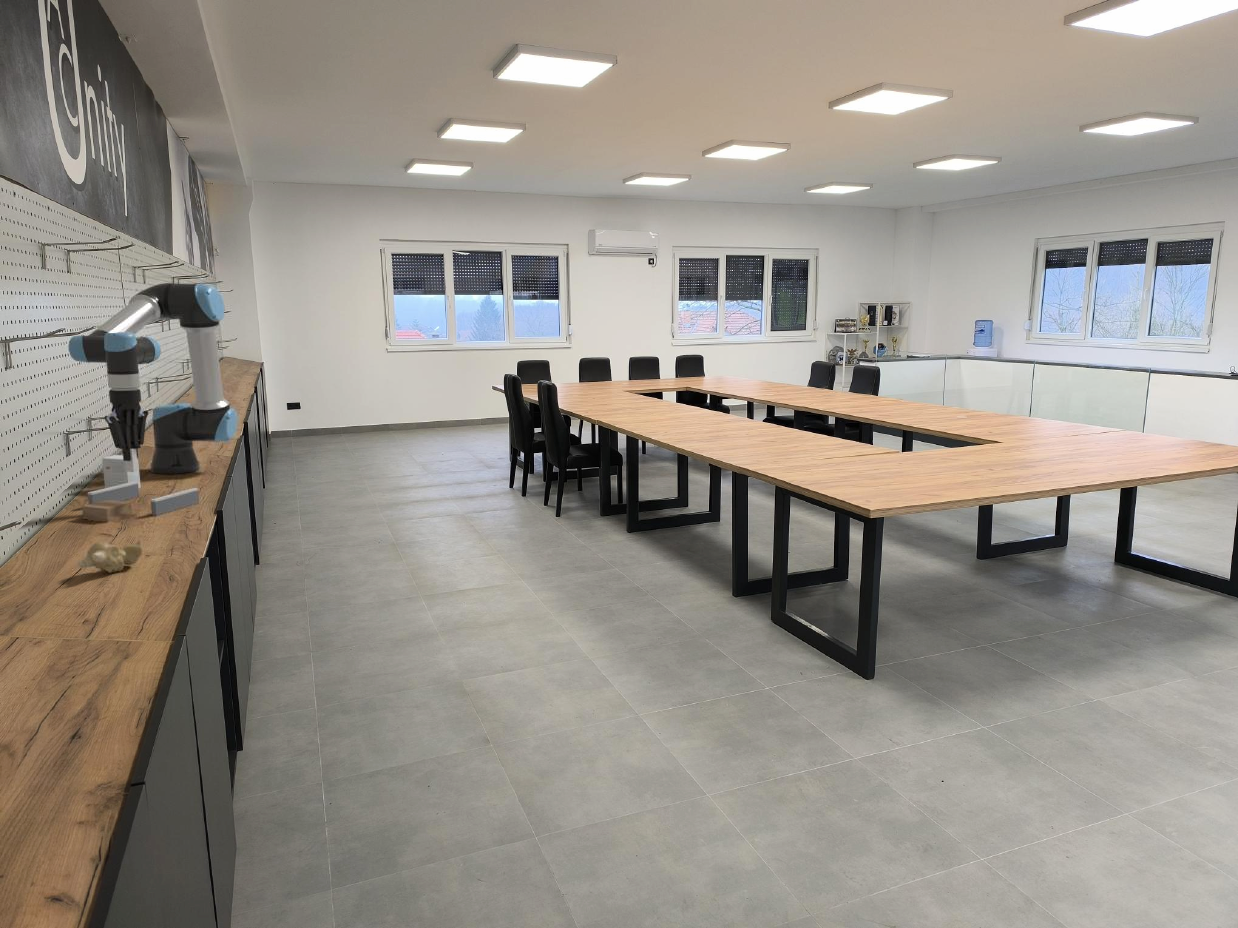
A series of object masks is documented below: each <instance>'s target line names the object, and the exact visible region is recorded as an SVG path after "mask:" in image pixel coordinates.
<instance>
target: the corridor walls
mask: <svg viewBox="0 0 1238 928" xmlns="http://www.w3.org/2000/svg"><path fill="white" fill-rule="evenodd" d="M139 491H140V489H139V488H138V482H130V483H126V484H122V485H117V486H113V487H109V488H105V487H104V488H102V489H97V490H93V491H88V492H87V499H88V500H87V501H88V505H89V504H92V503H96V502H100V501H104V500H114V501H123V502H125V501H127V500H126V499H128V500H130V499H131V498H132V499H135V498H138V497H140V492H139ZM199 497H200V496H199V488H196V487H193V488H189V489H186V490H182V491H178V492H175V493H170V494H167V495H164V496H159V497H156V498H152V499H150V509H151V516H153V517H159V516H161V515H165V514H167V513H171V512H174V511H178V510H181V509H184V508H188V507H191V506H194V505H198V504H200V498H199ZM132 499H131V500H132Z"/></svg>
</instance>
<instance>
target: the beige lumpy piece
mask: <svg viewBox="0 0 1238 928" xmlns="http://www.w3.org/2000/svg"><path fill="white" fill-rule="evenodd" d="M142 554H143V546H142V540H138V541H137V542H135V543H131V544H129V545H124V546H123V547H119V546H117V545H114V544H110V543H108V542H107V541H97V542H95V543H94V544H93V545H91V546H90V548H89V549H88V550H87V554H86V555H87V556H86V557H84V558H83V559H81V560H79V561H78V562H77V565H78V566H79V567H81V568H90V567H95V569H100V570H102V571H107V572H108V573H115V572H122V571H123V569H124V565H126V566H131V565H133V564H134V565H135V564H136V562H138V561H139V558H140V557H141V556H142Z"/></svg>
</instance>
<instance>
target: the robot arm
mask: <svg viewBox="0 0 1238 928" xmlns="http://www.w3.org/2000/svg"><path fill="white" fill-rule="evenodd" d="M224 317H225V304H224V299H223V297H222V295H221V292H220V291H219V290H218V289H217V288H216V287H215V286H214V285H213V286H212V285H210V284H202V283H176V282H175V283H172V282H163V283H159V284H156V285H152V286H149V287H147V288H144V289H142V290H141V291H140V292H138V293H136V294H135V295H134V296H132V297H131V298H130V299H129V301H128V304H127V305H126V306H125V307H124V308H122V309H121V310H120V311H118V312H117V313H115V314H114V315H113V316H111V317H110V318H109V319H108V320H107V321H105V322H104V323H103V324H101V325H100V326H99V327H98V328H96V329H95V330H93V331H92V332H91V333H90V334H87V335H84V334H81V335H74V336H72V337H71V338H70V340H69V342H68V352H69V355H70V357H71V359H73V360H74V361H75V362H79V363H81V362H82V363H87V364H90V363H97V364H99V363H103V364H106V373H107V375H106V376H107V384H108V385H107V386H108V388H110V389H109V390H108V396H109V397H108V398H109V403H111V405H112V407H111V413H110V414H109V415H104V420H105V422H106V423H107V425H108V428H109V431H110V434H111V438H112V441H113V445H114V447H115V448H116V449H119V450H122V455H123V460H124V461H125V467H126V471H127V472H137V471H138V465H137V459H138V460H139V450H138V449H141V448H142V445H144V442H145V434H146V433H145V432H146V424H147V423H146V422H147V417H148V415H149V411H148V410H144V409H142V406H141V405H140V403H141V402H142V393H141V392H142V391H141V389H140V388H141V381H140V372H139V365H144V364H145V365H148V364H152V363H154V362H156V361H157V360H158V359H159V358H160V357H161V355H162V354H161V353H162V350H161V346H160V343H158V341H157V340H155V339H154V338H152V337H149V336H139V337H137V336H136V334H137V333H139V332H140V331H141V330H142V329H144V328H145V326H147V325H148V324H154V323H156V322H158V321H159V320H170V319H171V320H178V322H179V325H180V328H182V329H183V330H184V331H185V332H186V339H187V346H188V353H189V359H190V368H191V373H192V374H191V376H192V380H193V381H192V382H193V388H194V395H195V401H194V402H192V404H190V403H189V402H180V403H171V404H164V405H159V406H156V407H154V408H153V410H152V421H151V422H152V427H153V428H152V429H153V439H154V441H153V442H154V452H153V455H152V460H151V463H150V465H149V466H150V467H149V468H150V472H151V473H153V474H158V475H175V474H186V473H193V472H196V471H199V470H200V468H201V467H200V466H201V465H200V461H199V460H198V458H197V454H196V452H195V450H194V443H193V442H210V443H211V442H213V443H220V442H221V443H222V442H223V443H225V442H226V443H227V442H230V441H231V440H232V439H233V438H234V436H235V434H236V433H237V430H238V425H239V415H238V412H237V410H236V409H234V408H232V407H231V406H230V402H229V401H228V400H227V399H226V398H225V397H224V391H223V382H222V381H223V380H222V375H221V367H220V360H219V353H218V352H219V351H218V345H217V344H218V343H217V336H216V329H217V328H218V327H219V326H220V321H222V320H224Z"/></svg>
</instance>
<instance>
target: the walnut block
mask: <svg viewBox="0 0 1238 928" xmlns="http://www.w3.org/2000/svg"><path fill="white" fill-rule="evenodd" d="M81 509H82V519H89V520H88V521H91V520H93V521H94V522H100V521H102V522H101V523H110V521H111V522H115V521H117V520H116V519H118V520H121V519H124V517H125V518H128V517H131V516H133V512H132V502H131V501H114V500H104V501H100V502H96V503H92V504H89V503H88V504H85V505H82V506H81ZM127 516H128V517H127ZM120 518H121V519H120Z"/></svg>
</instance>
